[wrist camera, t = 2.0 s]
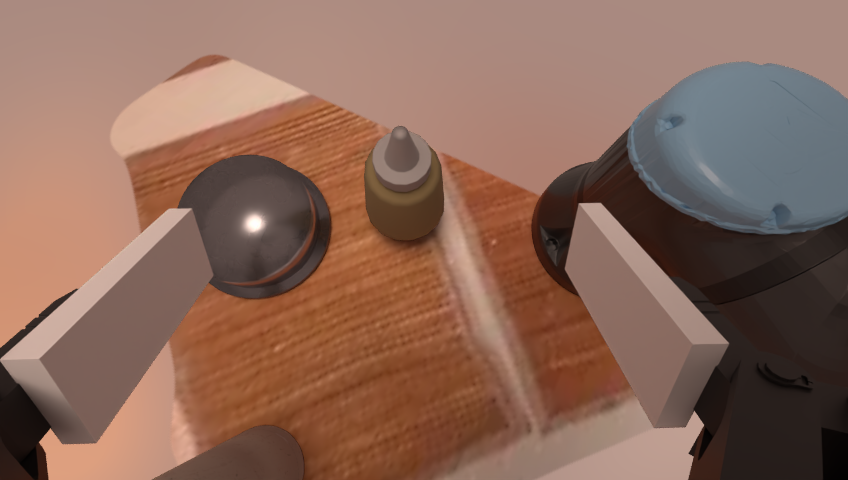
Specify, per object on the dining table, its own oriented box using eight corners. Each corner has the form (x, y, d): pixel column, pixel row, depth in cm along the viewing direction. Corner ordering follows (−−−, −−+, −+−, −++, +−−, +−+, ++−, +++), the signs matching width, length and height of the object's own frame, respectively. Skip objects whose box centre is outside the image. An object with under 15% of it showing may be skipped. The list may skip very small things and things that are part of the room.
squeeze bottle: (398, 166, 47) (388, 62, 30) (456, 206, 46) (481, 122, 29) (354, 221, 45) (316, 144, 28) (413, 263, 44) (412, 212, 27)
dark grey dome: (356, 202, 46) (349, 186, 41) (283, 324, 42) (266, 322, 38) (242, 144, 47) (222, 122, 42) (163, 258, 44) (132, 247, 39)
